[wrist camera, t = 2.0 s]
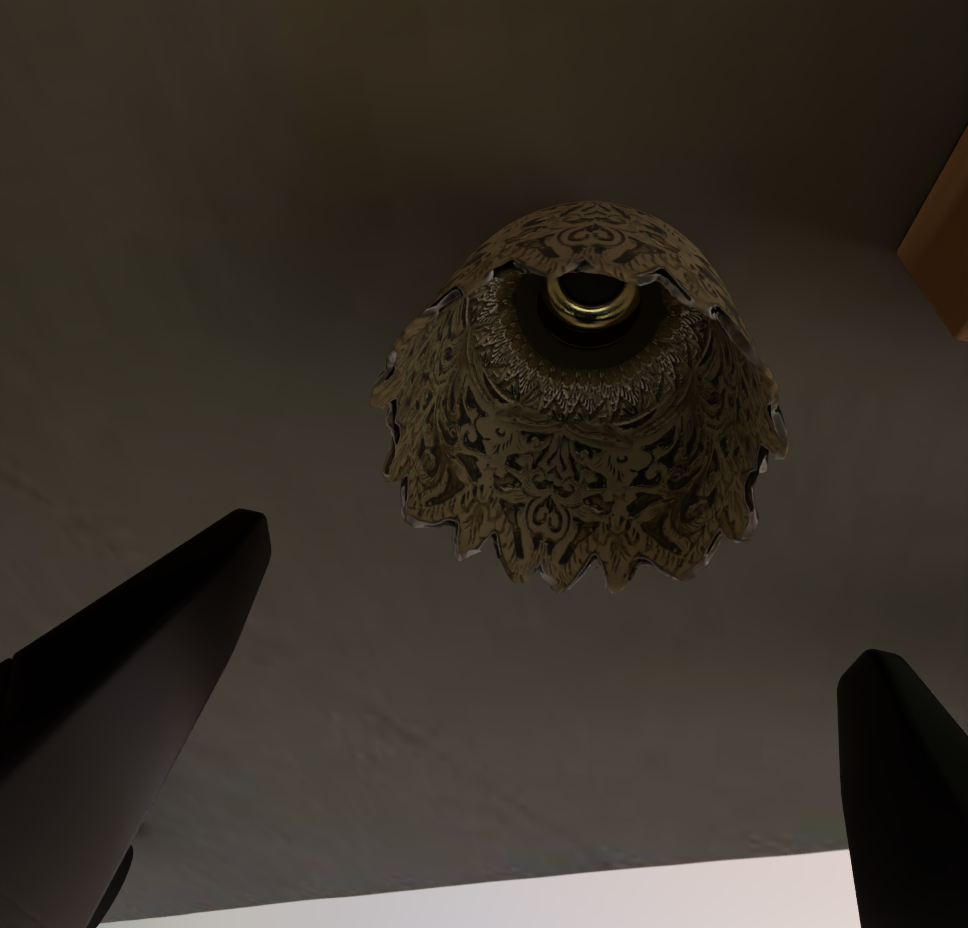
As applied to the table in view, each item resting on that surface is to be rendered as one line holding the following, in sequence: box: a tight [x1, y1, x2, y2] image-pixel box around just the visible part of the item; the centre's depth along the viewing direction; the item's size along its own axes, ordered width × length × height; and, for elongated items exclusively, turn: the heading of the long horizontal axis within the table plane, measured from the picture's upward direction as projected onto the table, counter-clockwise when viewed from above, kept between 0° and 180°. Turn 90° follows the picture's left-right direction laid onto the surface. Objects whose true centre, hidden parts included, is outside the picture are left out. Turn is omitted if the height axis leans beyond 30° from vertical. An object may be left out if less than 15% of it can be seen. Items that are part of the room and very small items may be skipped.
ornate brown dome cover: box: [370, 201, 788, 593], centre depth 15 cm, size 8×7×8 cm
